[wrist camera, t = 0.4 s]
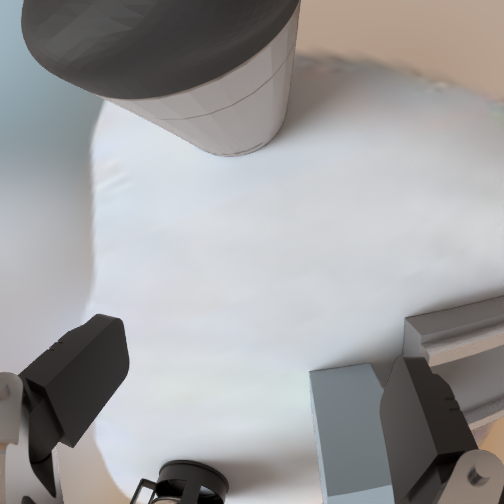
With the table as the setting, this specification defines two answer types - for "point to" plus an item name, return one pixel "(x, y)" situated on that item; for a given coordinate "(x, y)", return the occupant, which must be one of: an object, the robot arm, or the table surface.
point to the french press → (196, 474)
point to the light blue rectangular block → (350, 436)
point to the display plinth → (464, 355)
